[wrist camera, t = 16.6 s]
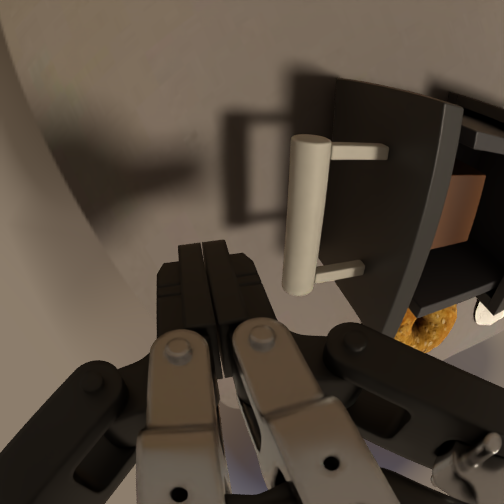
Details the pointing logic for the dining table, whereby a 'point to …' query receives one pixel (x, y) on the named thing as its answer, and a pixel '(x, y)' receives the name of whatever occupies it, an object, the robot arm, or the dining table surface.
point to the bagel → (426, 328)
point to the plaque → (486, 315)
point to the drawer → (392, 205)
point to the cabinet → (500, 295)
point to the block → (459, 205)
